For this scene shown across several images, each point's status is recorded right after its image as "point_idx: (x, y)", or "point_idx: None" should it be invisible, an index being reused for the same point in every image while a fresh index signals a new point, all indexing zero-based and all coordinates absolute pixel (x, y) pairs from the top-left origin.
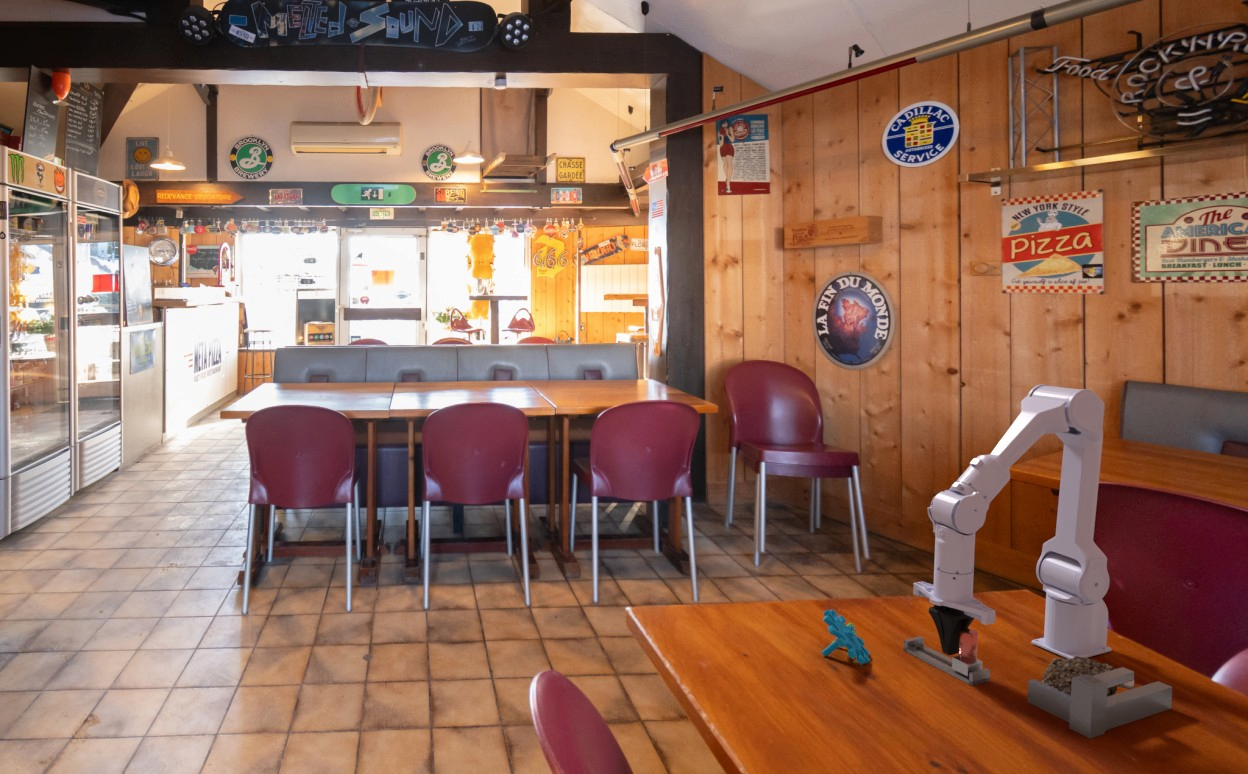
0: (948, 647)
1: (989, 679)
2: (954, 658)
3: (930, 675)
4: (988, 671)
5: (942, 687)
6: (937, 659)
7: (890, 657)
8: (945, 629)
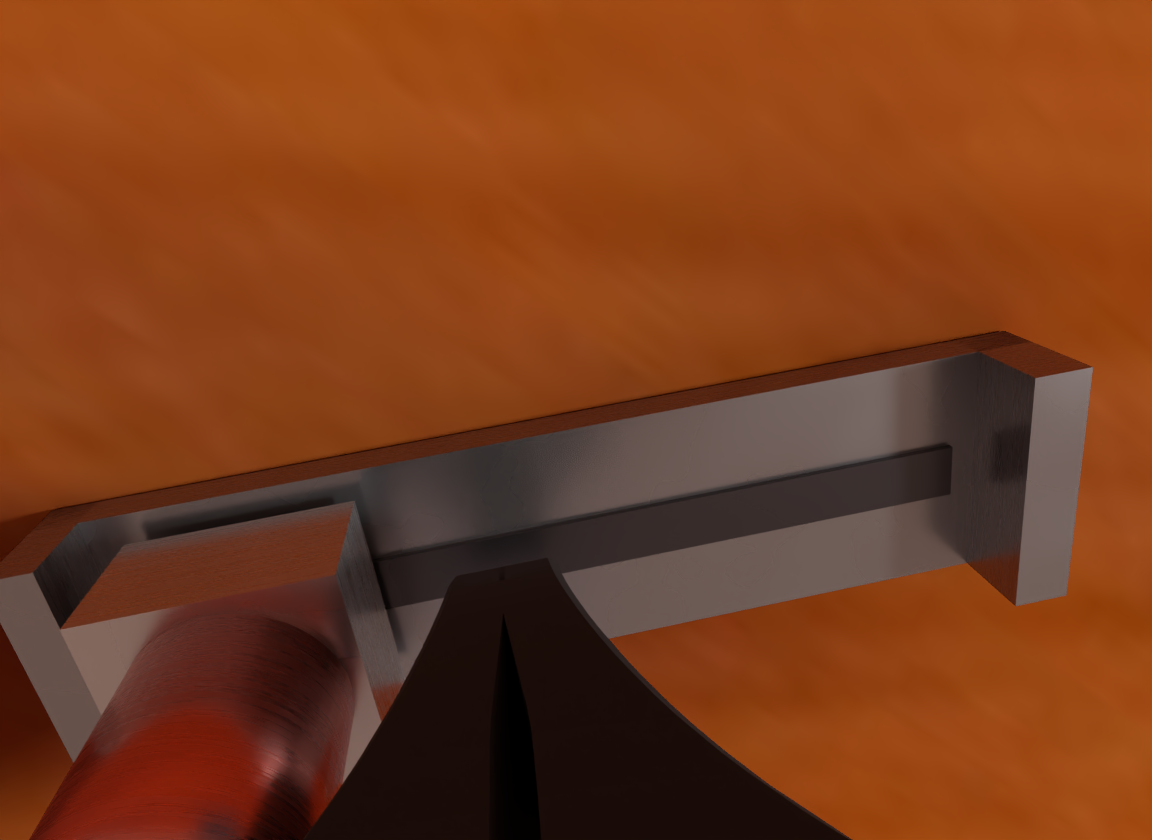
0: (429, 633)
1: None
2: (298, 580)
3: (385, 229)
4: None
5: (40, 160)
6: (641, 501)
7: (944, 64)
8: (432, 834)
